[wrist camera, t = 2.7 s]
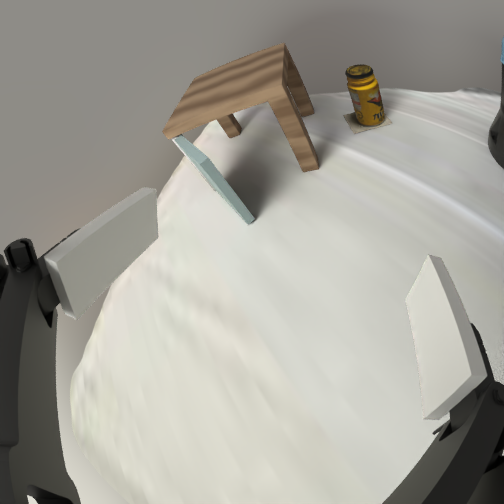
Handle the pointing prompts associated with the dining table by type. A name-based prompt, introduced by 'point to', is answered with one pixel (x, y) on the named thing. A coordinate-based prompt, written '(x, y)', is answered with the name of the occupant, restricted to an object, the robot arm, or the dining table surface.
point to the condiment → (364, 100)
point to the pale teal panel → (212, 176)
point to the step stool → (250, 99)
